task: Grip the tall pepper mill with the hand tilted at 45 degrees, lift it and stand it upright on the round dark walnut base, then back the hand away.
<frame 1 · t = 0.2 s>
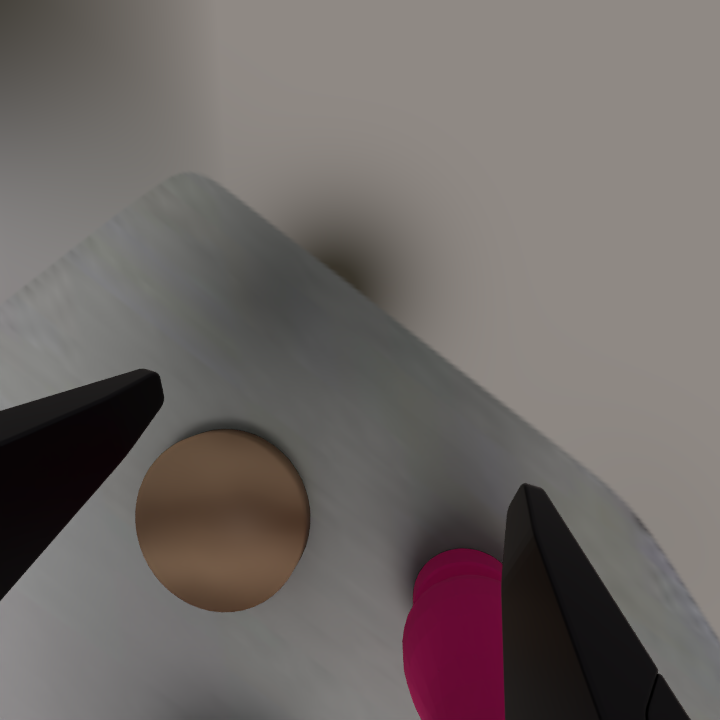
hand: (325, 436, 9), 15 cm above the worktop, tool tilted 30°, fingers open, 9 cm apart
walnut base: (228, 513, 25), on the worktop
pepper mill: (465, 596, 24), on the worktop
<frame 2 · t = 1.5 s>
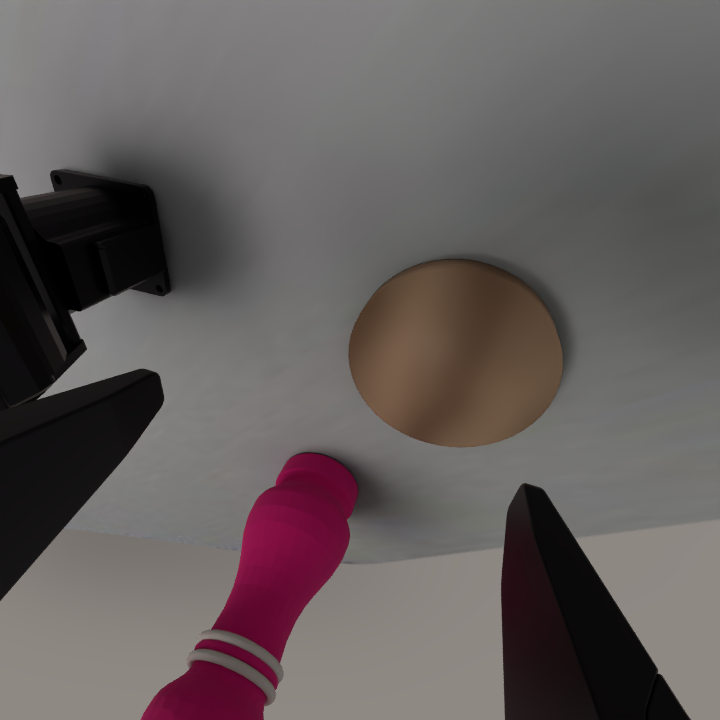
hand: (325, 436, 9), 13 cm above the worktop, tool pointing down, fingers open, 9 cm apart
walnut base: (449, 355, 22), on the worktop
pepper mill: (321, 479, 31), on the worktop
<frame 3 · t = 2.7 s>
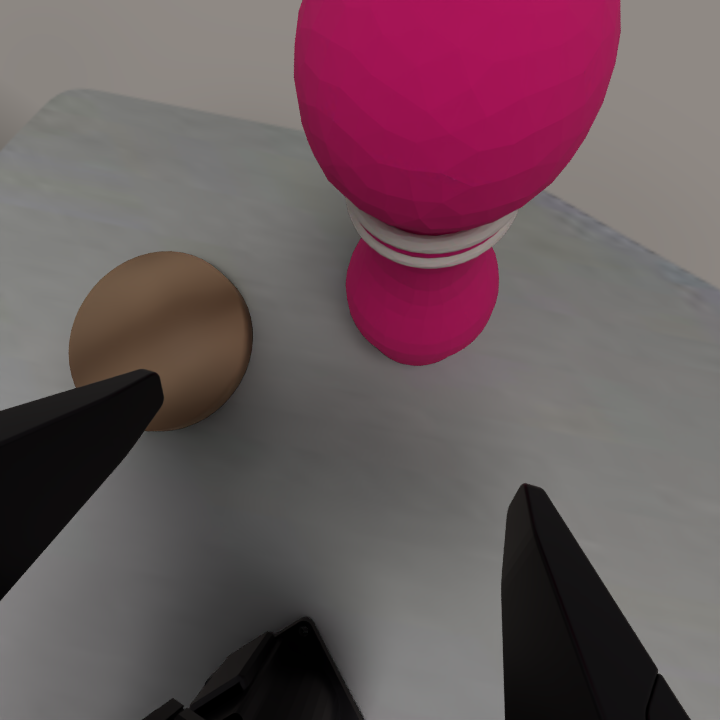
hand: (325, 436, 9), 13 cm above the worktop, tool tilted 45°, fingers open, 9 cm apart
walnut base: (168, 343, 25), on the worktop
pepper mill: (416, 315, 24), on the worktop
when the fingers open (11 cm above the worktop, at t = 9.1 s): pepper mill stays where it is, resting on walnut base.
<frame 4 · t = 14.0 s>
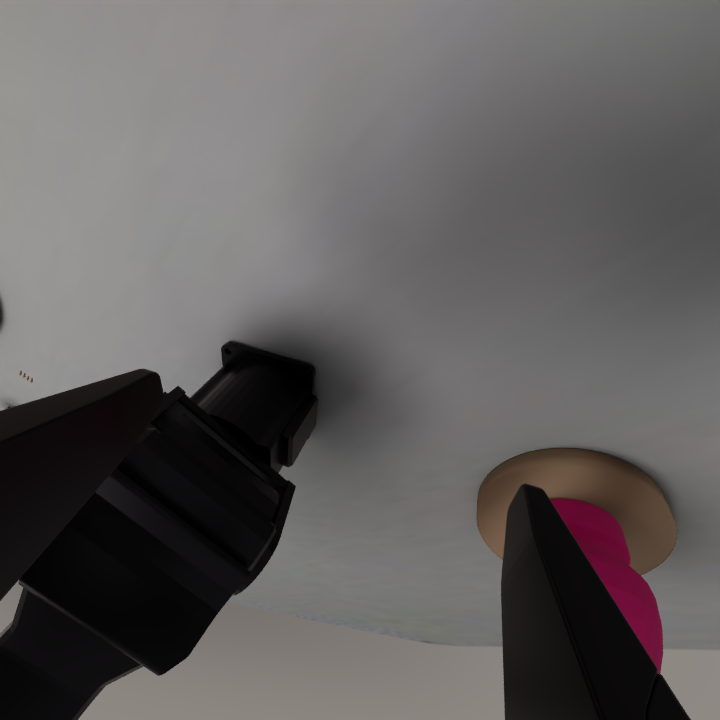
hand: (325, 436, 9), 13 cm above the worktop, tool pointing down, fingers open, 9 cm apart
walnut base: (565, 511, 26), on the worktop
pepper mill: (563, 528, 25), point 1 cm above the worktop, touching walnut base
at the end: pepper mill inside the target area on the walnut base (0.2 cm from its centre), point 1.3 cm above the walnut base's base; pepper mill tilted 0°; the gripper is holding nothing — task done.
